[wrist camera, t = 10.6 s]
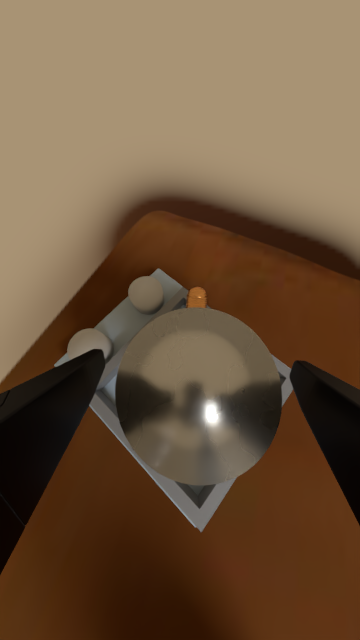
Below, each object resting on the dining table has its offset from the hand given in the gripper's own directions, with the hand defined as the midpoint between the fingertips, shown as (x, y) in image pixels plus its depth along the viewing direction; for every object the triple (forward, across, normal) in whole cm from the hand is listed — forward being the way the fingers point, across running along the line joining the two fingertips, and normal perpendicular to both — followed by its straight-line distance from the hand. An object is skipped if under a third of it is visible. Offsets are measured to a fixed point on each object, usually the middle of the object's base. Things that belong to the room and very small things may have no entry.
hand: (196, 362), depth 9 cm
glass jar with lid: (+6, 0, +6) cm, 8 cm away
